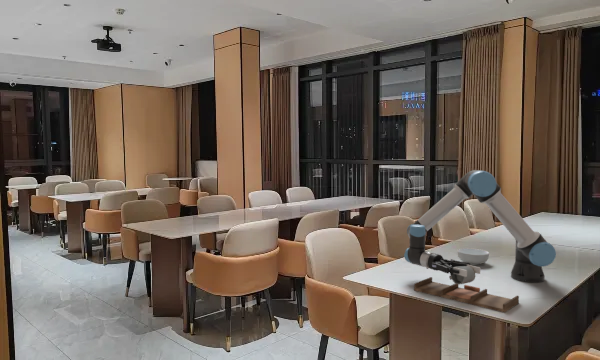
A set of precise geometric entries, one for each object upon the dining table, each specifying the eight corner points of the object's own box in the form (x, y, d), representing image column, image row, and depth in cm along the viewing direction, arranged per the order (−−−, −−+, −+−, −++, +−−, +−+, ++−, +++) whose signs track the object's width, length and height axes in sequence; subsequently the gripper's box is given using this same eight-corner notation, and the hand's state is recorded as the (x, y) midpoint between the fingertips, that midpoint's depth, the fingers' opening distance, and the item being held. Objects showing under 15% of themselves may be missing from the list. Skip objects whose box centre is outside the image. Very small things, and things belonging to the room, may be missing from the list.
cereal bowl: (467, 267, 248) (468, 255, 247) (451, 260, 264) (451, 248, 264) (495, 266, 251) (495, 253, 251) (477, 259, 267) (477, 247, 267)
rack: (519, 303, 190) (519, 295, 190) (504, 312, 179) (505, 304, 179) (431, 283, 219) (431, 276, 219) (414, 290, 208) (414, 283, 208)
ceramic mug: (476, 283, 197) (476, 266, 197) (463, 286, 193) (464, 268, 193) (457, 278, 207) (457, 261, 206) (444, 280, 202) (444, 263, 202)
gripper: (447, 265, 219) (488, 277, 200) (416, 271, 208) (456, 284, 189) (447, 250, 219) (488, 260, 199) (416, 255, 208) (457, 266, 188)
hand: (473, 272), depth 194 cm, fingers closed on ceramic mug, 8 cm apart
